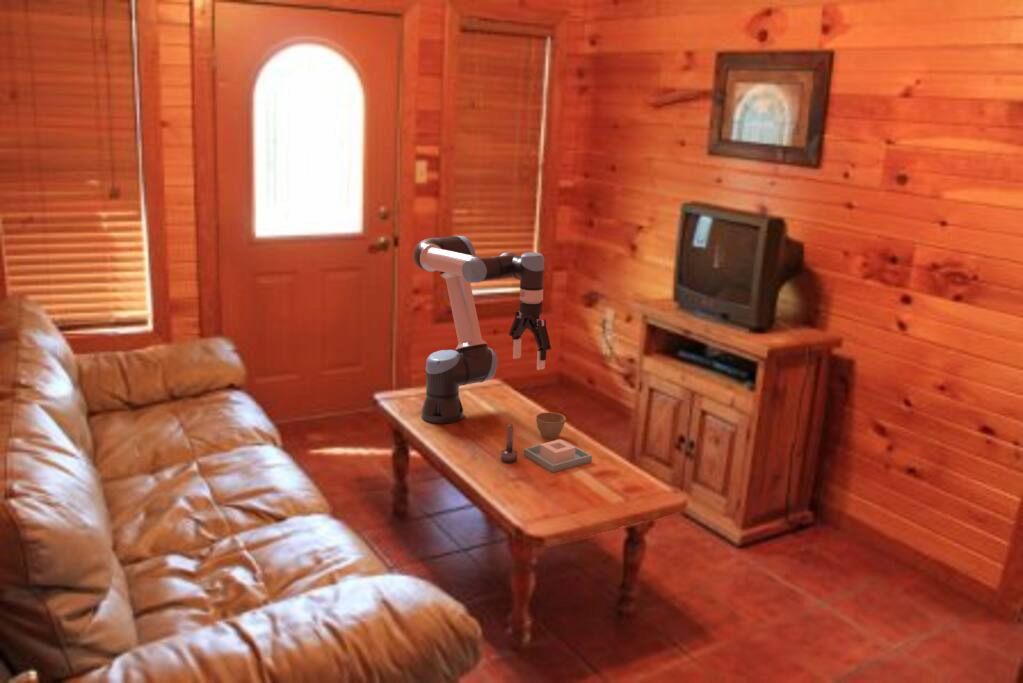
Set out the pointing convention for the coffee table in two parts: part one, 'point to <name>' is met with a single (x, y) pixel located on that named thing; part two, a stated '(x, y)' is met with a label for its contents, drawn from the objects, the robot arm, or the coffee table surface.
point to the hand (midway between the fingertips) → (528, 363)
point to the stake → (509, 447)
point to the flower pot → (550, 424)
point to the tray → (579, 460)
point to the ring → (557, 451)
